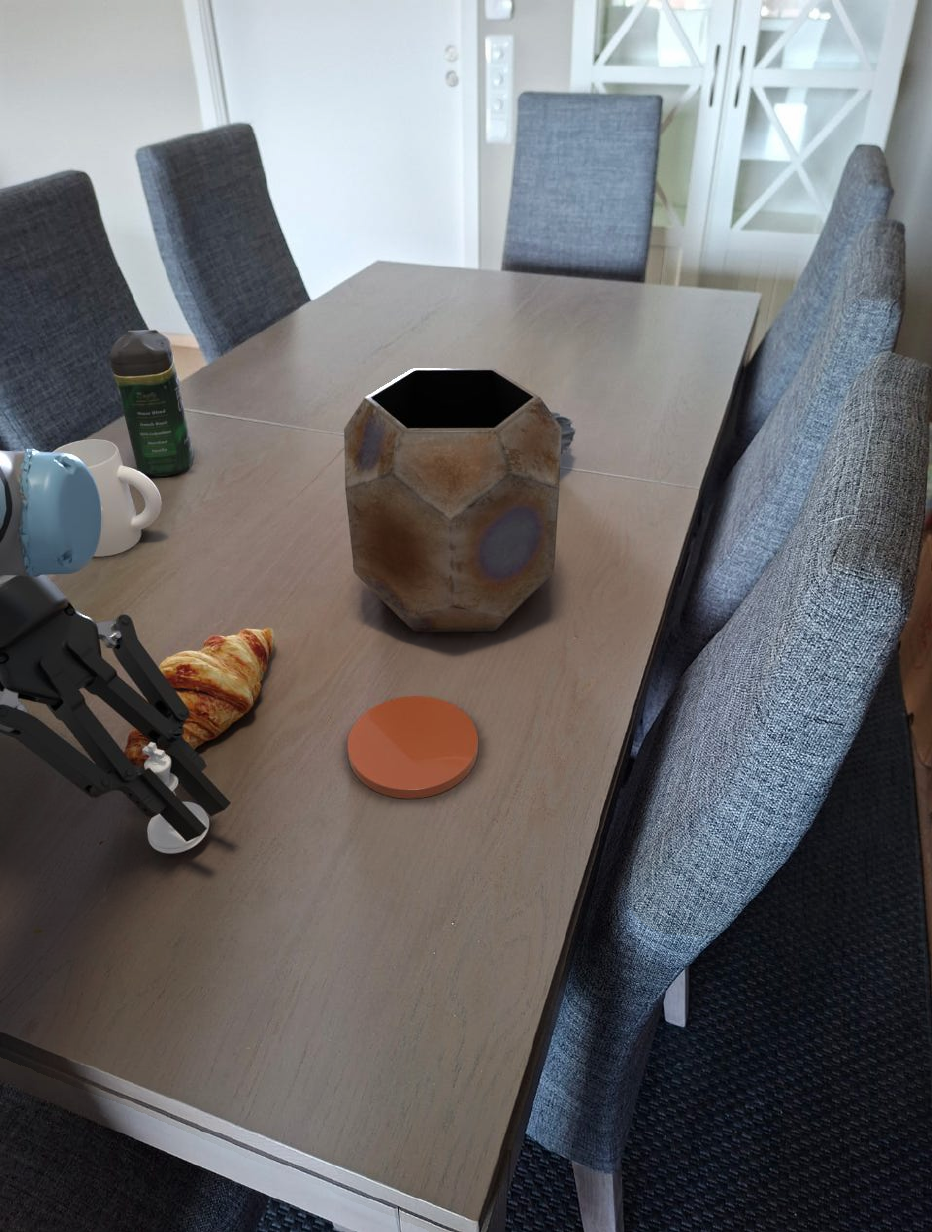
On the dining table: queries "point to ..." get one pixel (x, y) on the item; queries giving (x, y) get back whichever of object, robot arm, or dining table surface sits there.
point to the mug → (116, 495)
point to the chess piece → (158, 827)
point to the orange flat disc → (412, 747)
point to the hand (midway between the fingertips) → (208, 821)
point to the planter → (453, 496)
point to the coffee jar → (152, 402)
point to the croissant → (213, 685)
